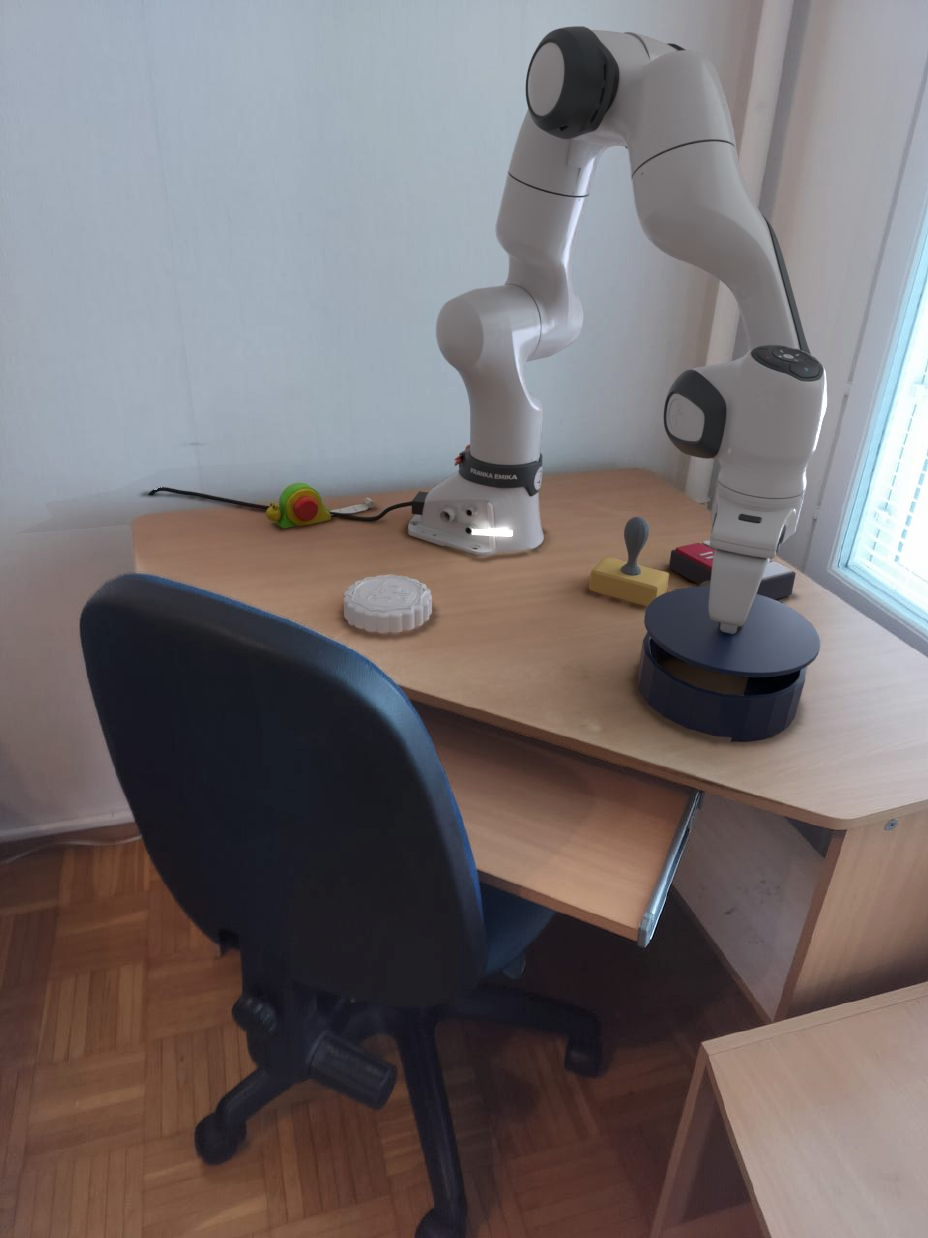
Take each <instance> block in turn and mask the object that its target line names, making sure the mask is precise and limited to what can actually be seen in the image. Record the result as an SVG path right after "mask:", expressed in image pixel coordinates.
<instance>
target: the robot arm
mask: <svg viewBox="0 0 928 1238" xmlns="http://www.w3.org/2000/svg"><path fill="white" fill-rule="evenodd" d="M525 99H526V100H525V101H526V105H527V110H526V113H525V115H524V118H523V120H522V123H521V126H520V129H519V131H518V134H517V137H516V140H515V143H514V147H513V151H512V154H511V158H510V162H509V165H508V170H507V174H506V178H505V183H504V188H503V191H502V195H501V199H500V206H499V210H498V214H497V218H496V223H495V231H494V232H495V238H496V240H497V242H498V244H499V245H500V247H501V248H502V249H503V250H504V252H505V253H506V254H507V257H508V273H507V278H506V281H505V282H504V284H503V285H496V286H494V285H493V286H485V287H479V288H474V289H471V290H468V291H465V292H464V293H461V294H459V295H457V296H455V297H453V298H451V299H449V300H446V302H444V304H443V305H442V307H441V308H440V309H439V312H438V315H437V317H436V321H435V339H436V343H437V347H438V350H439V352H440V353H441V355H442V357H443V359H444V360H445V361H446V363H448V365H450V366H451V367H453V368H454V369H455V370H456V371H457V372H458V374H459V376H460V377H461V379H462V382H463V384H464V386H465V389H466V393H467V398H468V403H469V444H467V445H466V446H465V448H464V450H462V451H461V452H459V455H458V456H457V457H455V458H454V461H455V462H454V467H456V466H458V470H457V471H455V472H454V473H452V474H451V475H449V476H448V477H446V478H445V479H443V480H441V481H440V482H439V483H438V484H436V485H434V487H432V488H431V489H430V490H429V491H420V490H419V491H418V492H417V494H416V495H415V496H414V497H413V499H411V500H410V501H405V502H400V503H396V504H392V505H390V506H388V507H386V508H385V509H384V510H382V511H381V512H380V513H379V514H378V515H374V516H357V515H352V514H349V513H347V514H344V513H337V512H330V515H331V517H336V518H342V519H348V520H353V521H359V522H375V521H378V520H381V519H382V518H384V517H385V515H387V514H388V513H390V512H392V511H395V510H397V509H401V508H406V507H411V515H414V516H413V517H412V518H411V519H410V520H409V522H408V525H407V534H408V535H409V536H411V537H412V538H413V537H414V538H417V539H418V540H419V539H420V540H422V541H425V542H428V543H432V544H435V545H437V546H441V547H445V546H446V547H450V548H452V549H456V550H458V551H461V552H465V553H468V554H471V555H474V556H477V557H487V556H490V555H495V554H503V553H515V552H523V551H527V550H534V549H536V548H538V547H539V546H541V544H543V542H544V540H545V536H544V532H543V527H542V521H541V513H540V512H541V511H540V496H539V494H540V493H539V492H540V491H541V487H542V481H543V471H544V470H543V468H544V467H543V457H544V456H543V454H542V453H541V449H542V435H543V434H542V433H543V425H544V424H543V422H544V407H543V404H542V402H541V400H540V399H539V398H538V396H536V395H535V394H534V393H532V392H531V391H529V388H528V386H527V382H526V376H525V365H526V363H527V362H532V361H536V360H541V359H545V358H546V359H547V358H549V357H552V356H554V355H555V354H557V353H559V352H561V351H563V350H565V349H566V348H568V347H570V346H571V345H573V344H574V343H575V341H577V339H578V338H579V336H580V335H581V332H582V330H583V325H584V307H583V304H582V301H581V299H580V297H579V295H578V294H577V292H576V291H575V288H574V281H573V268H574V255H575V249H576V244H577V240H578V237H579V235H580V234H579V233H580V231H581V230H580V229H581V226H582V223H583V220H584V219H583V218H584V215H585V213H586V207H587V203H588V201H589V198H590V195H591V190H592V186H593V183H594V179H595V176H596V171H597V167H598V164H599V162H600V159H601V157H602V155H603V154H604V152H605V151H606V150H608V149H609V148H612V147H625V149H626V150H627V152H628V161H629V162H628V163H629V173H630V178H631V179H630V180H631V187H632V193H633V194H632V195H633V202H634V207H635V212H636V215H637V219H638V222H639V225H640V228H641V229H642V232H643V234H644V236H645V237H646V238H647V240H648V241H649V242H650V243H651V244H652V245H653V246H655V247H656V248H657V249H658V250H660V251H661V252H663V253H664V254H666V255H667V256H669V257H671V258H673V259H676V260H677V261H678V260H679V261H682V262H684V263H687V264H689V265H692V266H694V267H697V268H698V269H701V270H703V271H705V272H707V273H708V274H710V275H711V276H714V277H715V278H717V280H719V281H721V282H722V283H723V284H724V285H725V286H726V287H727V288H728V289H729V290H730V292H731V293H732V296H733V297H734V299H735V301H736V304H737V307H738V311H739V314H740V318H741V320H742V321H741V322H742V325H743V328H744V333H745V336H746V339H747V343H748V347H749V351H747V352H746V353H745V354H744V355H743V356H741V357H739V358H737V359H734V360H730V361H727V362H722V363H718V364H711V365H704V366H698V367H694V368H691V369H686V370H684V371H682V373H680V374H679V375H678V376H677V377H676V378H675V380H674V381H673V383H672V384H671V386H670V387H669V390H668V391H667V395H666V398H665V401H664V407H663V426H664V431H665V434H666V435H667V437H668V439H669V440H670V442H671V443H672V445H674V447H675V448H677V450H678V451H680V452H681V453H683V454H685V455H687V456H691V457H695V458H699V459H705V460H706V459H711V460H713V461H714V460H715V461H716V462H717V463H718V464H719V472H718V474H717V478H716V484H715V489H714V495H713V500H712V505H711V510H710V517H709V519H710V521H711V527H712V528H711V532H710V538H709V540H710V547H712V548H715V551H714V556H713V563H712V572H711V582H710V593H709V605H708V611H709V617H710V619H711V620H713V621H716V622H720V623H721V625H720V630H721V631H722V632H726V633H730V634H734V633H736V631H737V628H738V626H742V625H743V624H744V623H745V621H746V619H747V617H748V614H749V612H750V609H751V607H752V604H753V601H754V598H755V596H756V593H757V590H758V588H759V585H760V582H761V579H762V577H763V574H764V572H765V569H766V567H767V565H768V563H769V561H771V560H773V559H775V558H776V555H777V554H778V553H779V551H780V548H781V547H782V546H783V544H784V543H785V542H786V541H787V540H788V538H789V537H792V536H793V535H794V534H795V533H796V531H797V527H798V523H799V519H800V515H801V510H802V506H803V503H804V498H805V494H806V490H807V468H808V465H809V463H810V460H811V458H812V457H813V455H814V454H815V451H816V448H817V445H818V442H819V436H820V433H821V428H822V423H823V420H824V418H825V415H826V412H827V406H828V393H827V375H826V374H827V373H826V370H825V367H824V365H823V363H822V362H821V361H820V360H819V359H818V358H816V357H815V356H814V355H812V353H811V351H810V348H809V345H808V341H807V339H806V335H805V332H804V328H803V325H802V321H801V316H800V314H799V310H798V305H797V303H796V299H795V295H794V291H793V287H792V284H791V280H790V277H789V273H788V269H787V265H786V262H785V257H784V254H783V252H782V249H781V245H780V242H779V240H778V237H777V235H776V232H775V230H774V227H773V226H772V224H771V223H770V221H769V220H768V219H767V218H766V217H765V216H764V215H763V214H762V212H761V210H759V208H758V206H757V205H756V203H755V201H754V199H753V197H752V196H751V194H750V190H749V189H748V186H747V184H746V182H745V178H744V176H743V172H742V169H741V166H740V161H739V155H738V150H737V149H738V148H737V142H736V137H735V136H736V135H735V129H734V125H733V121H732V116H731V115H732V114H731V112H730V108H729V105H728V101H727V100H728V99H727V97H726V93H725V91H724V88H723V84H722V82H721V79H720V76H719V73H718V71H717V68H716V66H715V65H714V63H713V62H712V60H711V59H710V58H708V57H707V56H706V55H704V54H702V53H700V52H699V51H695V50H687V49H686V48H684V47H682V46H681V45H678V44H676V43H671V42H670V43H669V42H668V43H665V42H662V41H661V40H657V39H655V38H653V37H650V36H646V35H644V34H639V33H635V32H630V31H626V32H619V31H611V30H603V29H602V30H601V29H600V30H599V29H591V28H589V27H587V26H581V25H580V26H579V25H578V26H577V25H575V26H564V27H559V28H557V29H553V30H551V31H550V32H548V33H547V34H546V35H545V36H544V37H543V38H542V39H541V41H540V42H539V44H538V45H537V47H536V48H535V50H534V52H533V53H532V56H531V59H530V61H529V64H528V68H527V72H526V77H525ZM159 487H160V488H158V487H157V488H158V489H157V490H154V489H155V488H153V489H151V490H150V491H149V493H148V494H147V495H148V496H153V495H156V493H158V492H159V493H160V492H167V493H173V494H176V495H184V496H191V497H197V498H202V499H207V500H212V501H215V502H216V501H217V502H220V503H226V504H231V505H236V506H240V507H241V506H242V507H247V508H252V509H258V510H264V511H267V509H268V508H269V507H271V506H270V505H264V504H259V503H252V502H247V501H241V500H236V499H231V498H226V497H222V496H216V495H211V494H206V493H201V492H196V491H191V490H182V489H176V488H172V487H168V486H159ZM161 487H162V488H161ZM278 508H279V506H278ZM332 514H333V515H332ZM770 559H771V560H770Z"/></svg>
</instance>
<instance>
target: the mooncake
mask: <svg viewBox="0 0 928 1238" xmlns="http://www.w3.org/2000/svg"><path fill="white" fill-rule="evenodd" d="M432 614H433V596H432V591H431V589H430V588H428V587H427V585H426V584H425V583H423V582H420V581H419V580H418V579H416V578H409V577H408V576H405V575H397V574H393V573H389V574H385V575H384V574H378V575H375V576H368V577H364V578H363V579H360V580H356V581H355V582H354V583H353V584H351V585H348V586H347V588H346V591H344V592H343V616H344V619H345V620H346V621H347V624H348V625H349V626H351V627H353V626H354V627H355V628H357V629H361V630H363V629H364V631H366V632H369V633H375V632H377V633H378V634H389V633H392V634H398V633H401V632H403V631H405V632H407V631H412V630H413V629H415V628H417V627H418V628H419V627H421V626H422V625H424V622H427V621H429V620H430V616H431V615H432Z"/></svg>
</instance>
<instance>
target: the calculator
mask: <svg viewBox="0 0 928 1238" xmlns="http://www.w3.org/2000/svg"><path fill="white" fill-rule="evenodd" d="M714 551H715V548H712V547H710V539H708V540H705V541H702V543H701V542H695V543H694V542H693V543H691V544H686V545H685V544H684V545H681V546H676V547H675V549H672V550H671V551H670V557H669V565H668V568H669V570H672V571H673V572H675V573H677V574H678V575H680V576H681V577H684V578H685V579H687V580H690V581H691V582H692V583H695V584H697V585H698V586H699V585H700V584H701V583H703V582H705V581H711V572H712V563H713V556H714ZM796 576H797V575H796V572H795V571H793V570H792V569H791V568H789V567H786V566H784V565H783V564H780V563H778V562H776V561H773V560H772V559H770V561H769V563H768V565H767V567H766V569H765V572H764V574H763V577H762V579H761V582H760V585H759V588H758V590H757V593H756V594H759V595H762V596H765V597H768V598H771V599H774V600H779V599H782V598H785V597H789V596H791V595H792V593H793V589H794V584H795V579H796Z"/></svg>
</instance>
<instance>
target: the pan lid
mask: <svg viewBox="0 0 928 1238" xmlns="http://www.w3.org/2000/svg"><path fill="white" fill-rule="evenodd" d="M709 593H710V586H700V587H698V586H690V587H682V588H677V589H673V590H670V591H666V593H664V594H662V595H660V596H658V597H657V598H655V599H654V600H653V601H652V602H651V603H650V604H649V605H648V606H646V609H645V612H644V617H643V618H644V619H643V624H644V628H645V630H646V633H647V632H648V634H649V635H650V637H651V638H652V639H653V640H654V641H655V642H656V643H657V644H658V645H659V646H660V647H661V648H663V649H664V650H665V651H667V652H668V653H670V654H671V655H670V656H673V657H675V658H677V659H678V660H680V661H683V662H685V663H687V664H689V665H692V666H694V667H697V668H700V669H704V670H706V671H707V670H708V671H711V672H714V673H720V674H722V675H728V676H734V677H742V678H743V677H745V678H748V677H774V676H781V675H786V674H790V673H794V672H796V671H799V670H801V669H803V668H805V667H807V668H808V666H810V665H811V664H812V663H813V662H814V661H815V660H816V659H817V657H818V655H819V652H820V649H821V638H820V634H819V632H818V630H817V628H816V627H815V626H814V624H813V623H812V622H810V620H809V619H808V618H807V617H805V616H804V615H803V614H801V613H800V612H799V611H797V610H796V609H795V608H792V607H791V606H788V605H787V604H784V603H781V602H782V601H778V600H777V599H775V600H774V599H771V598H768V597H765V596H762V595H759V594H756V596H755V598H754V601H753V604H752V607H751V609H750V612H749V614H748V617H747V619H746V621H745V623H744V624H743V625H742V626H738V628H737V631H736V633H734V634H730V633H726V632H722V631H721V630H720V625H721V623H720V622H716V621H713V620H711V619H710V617H709V611H708V605H709Z"/></svg>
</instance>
